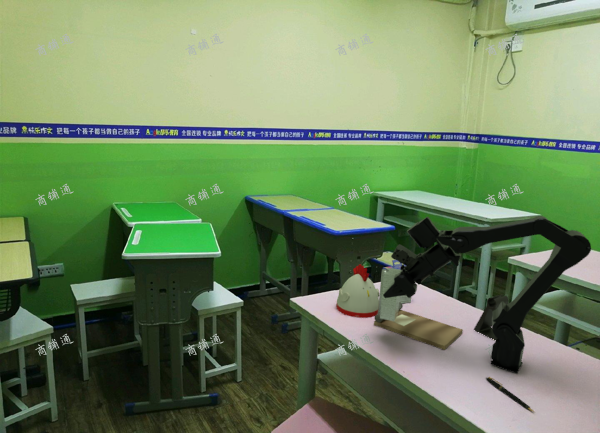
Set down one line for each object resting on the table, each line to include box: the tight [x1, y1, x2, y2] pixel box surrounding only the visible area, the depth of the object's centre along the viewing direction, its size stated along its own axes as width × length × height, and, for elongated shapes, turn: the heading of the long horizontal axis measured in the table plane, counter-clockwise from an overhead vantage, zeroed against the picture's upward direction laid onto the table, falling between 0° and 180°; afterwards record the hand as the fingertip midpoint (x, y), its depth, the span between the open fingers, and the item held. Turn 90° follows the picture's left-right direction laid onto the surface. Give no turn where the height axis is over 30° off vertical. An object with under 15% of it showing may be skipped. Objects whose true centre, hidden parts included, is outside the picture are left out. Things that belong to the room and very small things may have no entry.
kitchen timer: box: [335, 264, 380, 319], centre depth 147 cm, size 14×14×15 cm
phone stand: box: [473, 294, 510, 341], centre depth 134 cm, size 9×6×12 cm, turn 32°
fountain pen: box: [485, 376, 535, 413], centre depth 104 cm, size 14×1×2 cm, turn 22°
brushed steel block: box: [378, 268, 402, 321], centre depth 127 cm, size 5×6×13 cm
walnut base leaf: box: [373, 302, 464, 351], centre depth 136 cm, size 22×14×4 cm, turn 51°
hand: (386, 292), depth 127 cm, fingers closed on brushed steel block, 6 cm apart
